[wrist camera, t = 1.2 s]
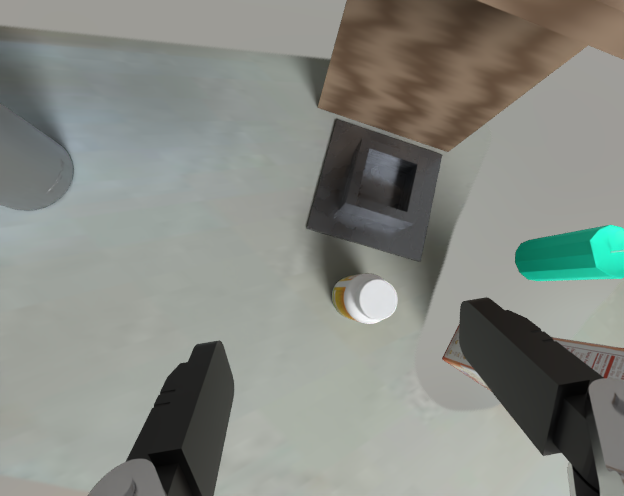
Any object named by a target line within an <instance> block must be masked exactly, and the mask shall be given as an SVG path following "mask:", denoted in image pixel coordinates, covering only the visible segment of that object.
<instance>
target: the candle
mask: <svg viewBox="0 0 624 496" xmlns="http://www.w3.org/2000/svg"><path fill="white" fill-rule="evenodd" d="M515 263H516V265H517V268H518V270H519V272H520V273H521V274H522V275H523V276H525V277H526V278H527V279H529V280H535V281H552V280H553V281H556V280H589V279H622V278H623V277H624V229H623V228H622V227H618V226H613V225H607V226H602V227H596V228H591V229H585V230H580V231H575V232H570V233H564V234H559V235H554V236H548V237H543V238H538V239H533V240H528V241H526V242H523V243H521V244H520V246H519V247H518V249H517V250H516V254H515Z"/></svg>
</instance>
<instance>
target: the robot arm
mask: <svg viewBox="0 0 624 496" xmlns="http://www.w3.org/2000/svg"><path fill="white" fill-rule="evenodd" d="M72 178H73V164H72V160H71V158H70V156H69V154H68V153H67V151H66V150H65V149H64V148H63V147H62V146H61V145H60V144H58V143H57V142H56V141H54V140H53V139H51V138H50V137H48V136H47V135H45V134H44V133H43V132H41V131H40V130H38V129H37V128H36V127H34V126H33V125H31V124H30V123H28V122H27V121H26V120H24V119H23V118H21V117H20V116H18V115H17V114H15V113H14V112H13V111H11V110H10V109H8V108H7V107H5V106H4V105H2V104H1V103H0V205H2V206H5V207H9V208H12V209H16V210H24V211H29V210H37V209H41V208H44V207H47V206H49V205H51V204H53V203H54V202H56V201H57V200H58V199H60V198H61V197H62V196H63V195H64V194H65V192H66V191H67V190H68V188H69V186H70V184H71V181H72ZM459 344H460V348H461V351H462V353H463V355H464V357H465V358H466V360H467V361H468V362H469V364H470V365H471V366H472V367H473V369H474V370H475V371H476V372H477V374H478V375H479V376H480V377H481V379H482V380H483V381H484V382H485V384H486V385H487V386H488V387H489V389H490V390H491V391H492V392H493V393H494V395H495V396H496V397H497V399H498V400H499V401H500V402H501V404H502V405H503V406H504V407H505V409H506V410H507V411H508V413H509V414H510V415H511V416H512V418H513V419H514V420H515V421H516V423H517V424H518V425H519V426H520V428H521V429H522V430H523V431H524V433H525V434H526V435H527V436H528V438H529V439H530V440H531V441H532V443H533V444H534V445H535V446H536V448H537V449H538V450H539V451H540V453H541V454H542V455H543V456H545V455H551V454H556V453H562V454H563V455H564V456H565V457H566V458H567V459H568V461H569V463H568V467H567V473H568V481H569V489H570V496H624V380H619V379H612V378H604V377H602V376H601V375H600V374H599V373H597V372H596V371H595V370H593V369H592V368H591V367H589V366H588V365H587V364H586V363H584V362H583V361H582V360H580V359H579V358H578V357H576V356H575V355H574V354H573V353H571V352H570V351H569V350H567V349H566V348H565V347H563V346H562V345H561V344H559V343H558V342H557V341H554V340H553V338H552V337H550V336H549V335H548V334H546V333H545V332H542V331H541V329H540V328H538V327H537V326H536V325H535V324H533V323H532V322H531V321H529V320H528V319H527V318H525V317H523V316H520V315H518V314H516V313H513V312H512V311H509V310H503V309H502V308H501V307H500V306H499V305H497V304H496V303H495V302H493V301H492V300H491V299H489V298H481V299H474V300H468V301H463V302H462V304H461V309H460V326H459ZM233 397H234V380H233V375H232V372H231V369H230V366H229V362H228V359H227V356H226V353H225V349H224V346H223V344H222V342H221V341H214V342H208V343H202V344H197V345H196V346H195V347H194V349H193V351H192V354H191V356H190V358H189V361H188V362H186V363H180V364H179V365H178V366H177V368H176V369H175V370H174V371H173V372H172V373H171V374H170V375H169V376H168V377H167V379H166V381H165V383H164V385H163V387H162V389H161V391H160V395H158V397H157V399H156V402H155V404H154V408H152V410H151V412H150V414H149V416H148V418H147V420H146V422H145V424H144V426H143V428H142V430H141V432H140V434H139V436H138V438H137V440H136V442H135V444H134V446H133V448H132V450H131V452H130V454H129V456H128V458H127V460H126V462H125V463H123V464H120V465H119V466H117V467H115V468H114V469H112V470H111V471H110V472H108V473H107V474H106V475H105V476H104V477H103V478H102V479H101V480H100V481H99V482H98V483H97V484H96V485H95V486H94V487H93V489H92V490H91V491H90V493H89V494H88V496H213V495H214V490H215V486H216V481H217V476H218V471H219V466H220V461H221V456H222V451H223V446H224V441H225V436H226V431H227V427H228V422H229V417H230V412H231V407H232V402H233Z"/></svg>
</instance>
